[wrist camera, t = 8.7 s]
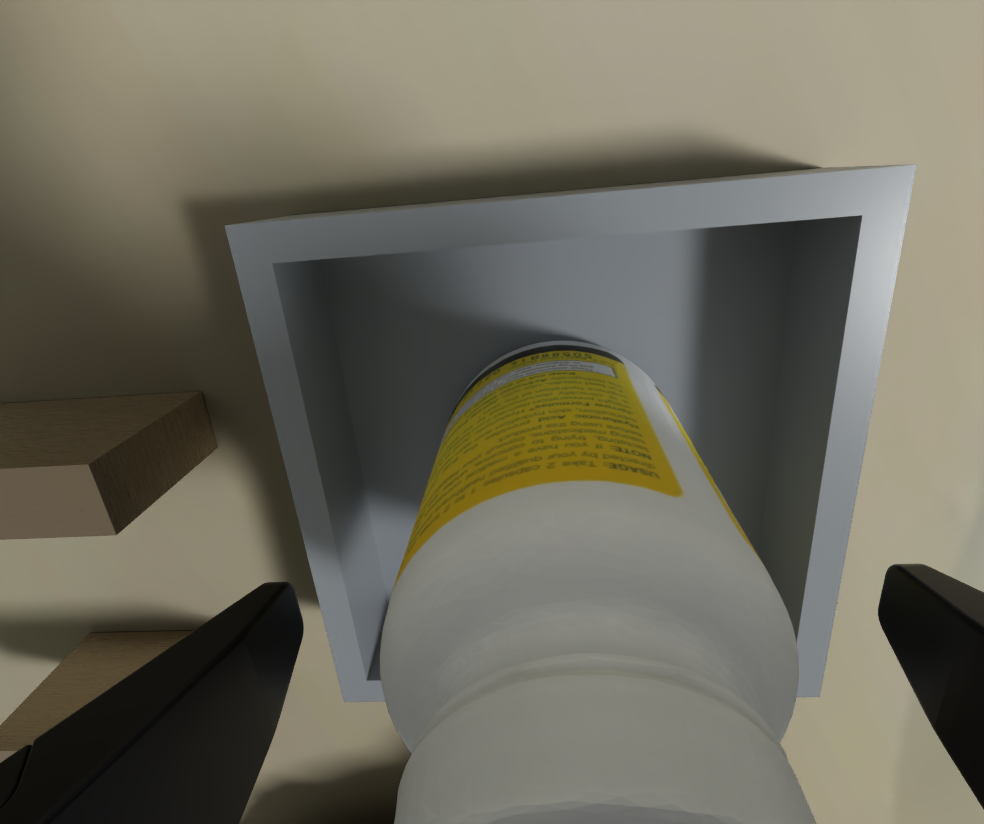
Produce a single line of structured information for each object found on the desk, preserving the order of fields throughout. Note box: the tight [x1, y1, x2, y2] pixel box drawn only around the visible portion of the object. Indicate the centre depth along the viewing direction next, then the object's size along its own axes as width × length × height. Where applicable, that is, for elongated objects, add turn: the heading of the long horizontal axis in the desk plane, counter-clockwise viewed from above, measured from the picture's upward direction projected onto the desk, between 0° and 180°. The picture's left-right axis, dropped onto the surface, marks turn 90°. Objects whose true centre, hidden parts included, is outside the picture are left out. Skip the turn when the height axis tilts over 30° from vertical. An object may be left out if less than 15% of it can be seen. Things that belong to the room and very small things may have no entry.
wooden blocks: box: [0, 391, 218, 763], centre depth 15 cm, size 9×6×4 cm, turn 5°
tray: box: [225, 164, 917, 702], centre depth 13 cm, size 11×11×3 cm
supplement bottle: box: [380, 341, 816, 824], centre depth 9 cm, size 5×5×10 cm
